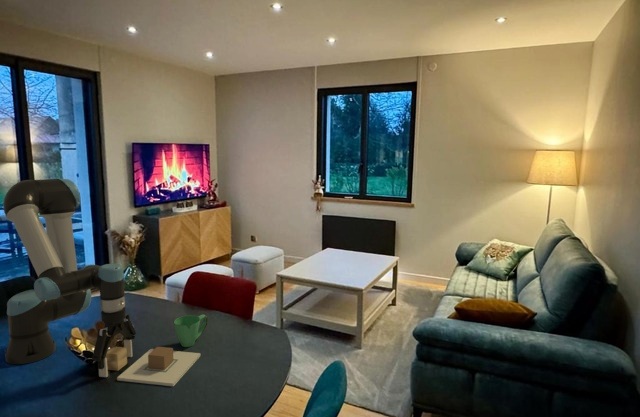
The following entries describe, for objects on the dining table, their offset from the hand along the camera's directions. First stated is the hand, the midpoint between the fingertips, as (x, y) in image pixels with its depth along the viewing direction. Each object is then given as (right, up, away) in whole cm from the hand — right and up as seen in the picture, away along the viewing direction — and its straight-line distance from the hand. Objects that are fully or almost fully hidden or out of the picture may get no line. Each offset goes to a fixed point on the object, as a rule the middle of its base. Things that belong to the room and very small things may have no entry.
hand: (116, 366), depth 140 cm
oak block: (0, 0, 0) cm, 0 cm away
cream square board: (+16, 0, 0) cm, 16 cm away
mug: (+21, +2, +19) cm, 28 cm away
